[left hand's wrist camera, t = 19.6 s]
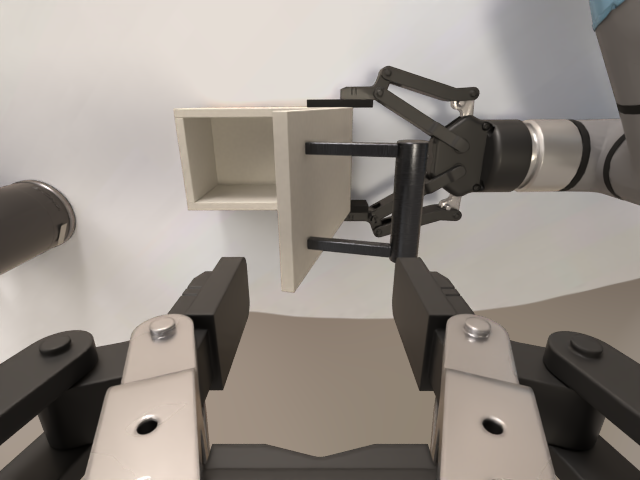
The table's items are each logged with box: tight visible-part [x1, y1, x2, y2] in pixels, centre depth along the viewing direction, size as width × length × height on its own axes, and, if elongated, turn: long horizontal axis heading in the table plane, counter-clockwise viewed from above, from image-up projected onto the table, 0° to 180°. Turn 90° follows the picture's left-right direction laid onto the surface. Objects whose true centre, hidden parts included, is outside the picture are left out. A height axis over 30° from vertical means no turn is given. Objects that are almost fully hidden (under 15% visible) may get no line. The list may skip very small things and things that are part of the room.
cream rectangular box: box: [173, 107, 345, 210], centre depth 40 cm, size 17×10×10 cm, turn 90°
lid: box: [272, 107, 429, 293], centre depth 26 cm, size 18×10×8 cm
